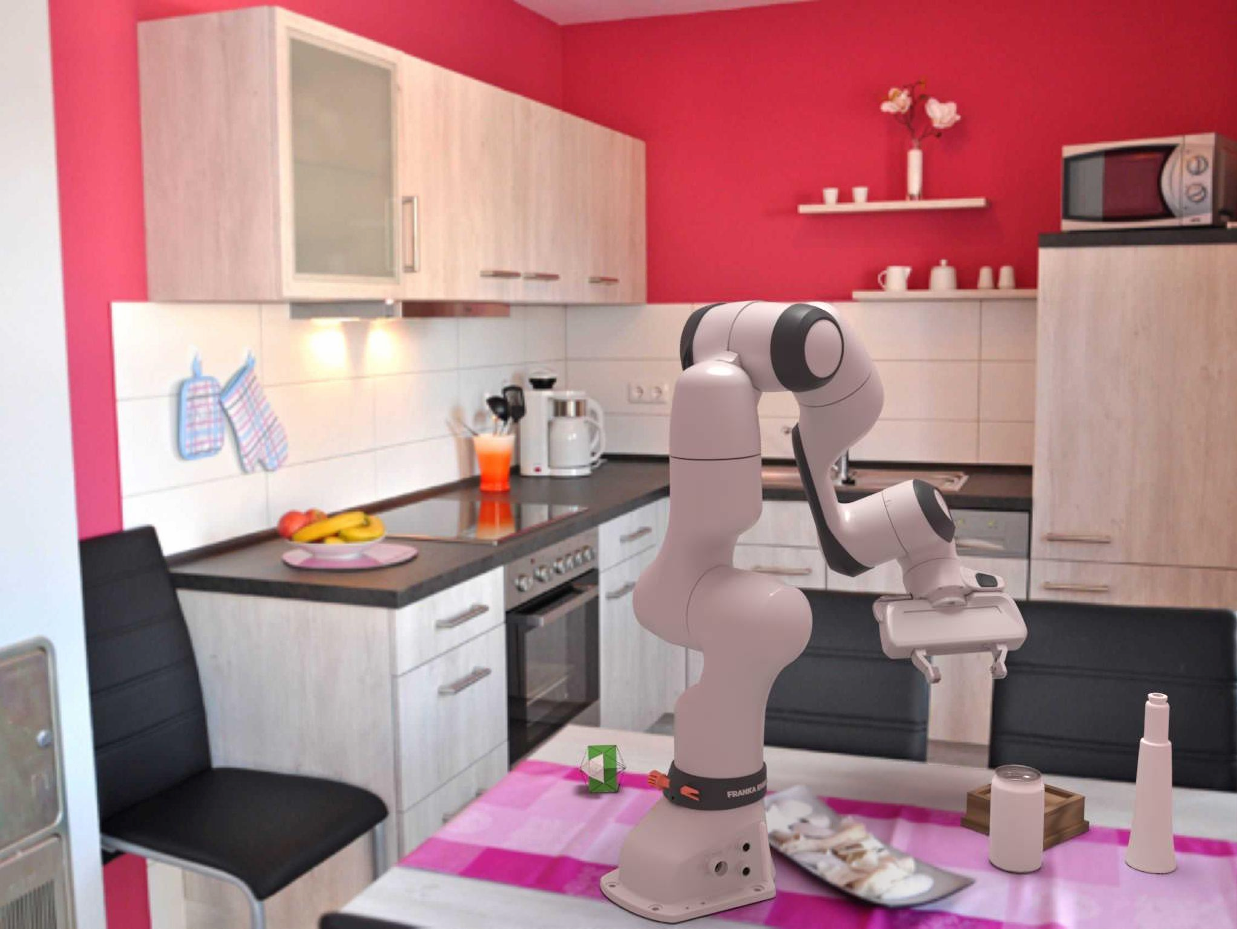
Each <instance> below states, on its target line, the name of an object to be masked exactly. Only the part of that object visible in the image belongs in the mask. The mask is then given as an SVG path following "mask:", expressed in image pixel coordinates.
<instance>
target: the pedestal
mask: <svg viewBox="0 0 1237 929" xmlns="http://www.w3.org/2000/svg"><path fill="white" fill-rule="evenodd" d="M991 783H992V782H991ZM991 783H987V784H985V785H983V786H980V787H978V788H975V789H972V790H970V791H967V792H966V810H965V812H966V814H964V815H963V816H961V817H960V827H964V828H966V829H969V830H973V831H974V832H975V831H976V832H978V833H980V834H984V835H986V836H989V837H990V806H991ZM1043 784H1044V788H1045V795H1044V829H1043V851H1046V850H1048V849H1050V848H1052V847H1055V846H1057V845H1059V844H1061V843H1063V842H1066V841H1068V840H1070V839H1072V838H1074V837H1076V836H1079V835H1081V834H1083V833H1086V832H1088V831H1090V821H1089V820H1086V819H1085V806H1086V801H1085V800H1086V796H1085V795H1083V794H1079V793H1075V792H1072V791H1069V790H1066V789H1063V788H1060V787H1057V786H1053V785H1051V784H1047V783H1044V782H1043Z"/></svg>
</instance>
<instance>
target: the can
mask: <svg viewBox="0 0 1237 929" xmlns="http://www.w3.org/2000/svg"><path fill="white" fill-rule="evenodd" d="M994 773H995V774H994V776H993V778H992V780H991V806H990V836H989V840H988V841H989V843H988V844H989V846H988V847H989V848H988V851H989V852H988V853H989V854H988V855H989V856H988V858H989V861H990V862H991V864H992V865H993V866H994V867H995V868H997V869H1000V870H1001V871H1004V872H1008V873H1014V874H1030V873H1033V872H1036V871H1038V870H1039V869H1040V868H1041V866H1042V865H1043V829H1044V795H1045V788H1044V784H1045V783H1044V782H1043V780H1042V776H1043V775H1042V772H1040V770H1038V769H1036V768H1033V767H1031V766H1026V765H1019V764H1004V765H1001V766H998V767H996V768H995V770H994ZM1043 783H1044V784H1043Z"/></svg>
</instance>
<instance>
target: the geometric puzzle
mask: <svg viewBox="0 0 1237 929" xmlns="http://www.w3.org/2000/svg"><path fill="white" fill-rule="evenodd" d="M618 748H619V747H618V746H617V744H607V745H606V744H602V745H598V744H597V745H590V744H589V745H588V744H587V748H586V750H585V753H584V756H583V758H582V762H581V764H580V767H579V769H578V770H579V772H580V773H581V777H582V778H583V782H584V784H585V786H586V788H587V791H588V793H589V792H592V793H606V792H605V791H618V792H619V790H620V789H619V788H620V785H621V782H622V780H623V778H624V775H625V771H626V769H627V768H628V767H626V765H625V764H624V763H625V762H624V759H623V757H622V756H621V753H620V750H619V749H618ZM617 751H618V755H619V757H620V761H621V762H622V764H621V763H620V762H618V761H617ZM586 753H587V757H588V758H587V762H586V763H584V764H583V761H584V759H585V756H586ZM582 765H583V766H582ZM618 766H619V767H618ZM618 769H621V770H620V771H618ZM622 771H623V772H622ZM621 772H622V774H621V778H620V781H619V784H618V774H620V773H621ZM583 773H584V774H585V775H587V776H588V784H587V783H586V780H585V777H584V775H583ZM587 785H588V786H587Z"/></svg>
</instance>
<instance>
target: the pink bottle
mask: <svg viewBox="0 0 1237 929" xmlns="http://www.w3.org/2000/svg"><path fill="white" fill-rule="evenodd" d="M1147 699H1148V700H1146V701H1145V708H1144V730H1143V731H1144V733H1143V737H1142V738H1141V739H1140V741H1139V748H1138V749H1139V750H1138V758H1137V759H1138V760H1137V770H1136V781H1135V791H1134V802H1133V810H1132V811H1133V813H1132V821H1131V827H1130V828H1131V829H1130V833H1129V839H1128V840H1129V841H1128V844H1127V850H1126V853H1125V857H1124V861H1125V863H1126V864H1127V865H1128V866H1129V867H1131V868H1133V869H1135V870H1137V871H1141V872H1143V871H1144V872H1143V873H1149V874H1156V873H1160V874H1161V873H1163V874H1168V873H1172V872H1174V871H1176V869H1177V859H1176V852H1175V844H1174V832H1173V830H1174V829H1173V828H1174V827H1173V769H1172V768H1173V766H1172V765H1173V764H1172V763H1173V760H1172V757H1173V755H1172V754H1173V753H1172V742H1171V741H1170V740H1169V724H1170V722H1169V720H1170V705H1169V703H1168V702H1167V701H1168V696H1167V695H1166V694H1163V693H1159V692H1153V693H1148V694H1147ZM1160 874H1159V875H1160Z"/></svg>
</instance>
